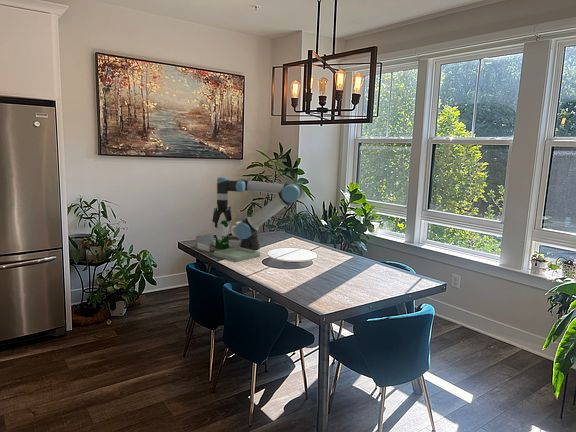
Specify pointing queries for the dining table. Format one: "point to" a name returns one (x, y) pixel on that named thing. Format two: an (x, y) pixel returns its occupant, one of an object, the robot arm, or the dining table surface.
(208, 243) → the dock
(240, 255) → the tray
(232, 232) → the pitcher
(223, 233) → the soya milk
